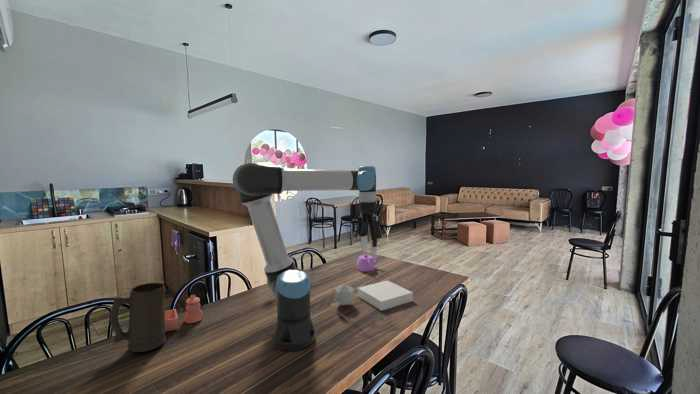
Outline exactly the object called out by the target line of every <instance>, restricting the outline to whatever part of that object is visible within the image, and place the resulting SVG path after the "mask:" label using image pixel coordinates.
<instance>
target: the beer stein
mask: <svg viewBox="0 0 700 394" xmlns="http://www.w3.org/2000/svg"><path fill="white" fill-rule="evenodd" d="M165 294H166V286H165V284H164V283H162V282H149V283H143V284H138V285H137V286H134V287H132V288H131V290H130V293H129V297H121V296H116V297H114V298H113V304H112V307H111V309H110V311H109V316H108V318H109V319H108V320H109V323H110V325H111V328H112V329H113V331H114V333H115V336H114V338H113V342H114V344H117V343H118V342H121V341H127V342H128V343H127V350H128V351H130V352H134V353H139V352H140V353H141V352H147V351H151V350H155V349H157V348H158V347H161V346H162V345H164V343H165V342H166V340H167V339H166V338H167V337H166V333H167V332H166V329H165V311H166V310H165V308H166V307H165ZM123 305H128V306H129V313H128V316H129V317H128V318H129V319H128V329H127V330H128V331H127V332H124V331H123V329H122V327H121V324H120V321H119V310H120V307H121V306H123Z"/></svg>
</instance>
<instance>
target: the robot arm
mask: <svg viewBox="0 0 700 394" xmlns="http://www.w3.org/2000/svg"><path fill="white" fill-rule="evenodd" d="M232 183H233V186H234V188H235V189H236V192H237V194H238V197H239V200H240V204H242V205H243V206H245V207H247V210H248V214H249V216H250V219H251V223H252V225H253V229H254V230H255V234H256V237H257V240H258V243H259V245H260V249H261V252H262V254H263V257H264V260H265V263H266V265H265V266H264V268H263V271H264V273H265V276H266V277H265V278H266V283H267V286H268V288H269V289H270V291H271V293H272V294H273V296H274V298H275V299H276V308H277V310H276V312H277V313H276V314H277V318H276V319H277V320H276V323H275V326H274V329H273V333H272V344H273V345H274V346H275V347H276V348H277V349H279V350H282V351H299V350H303V349H305V348H307V347H309V346H311V345H312V344H313V343H314V342H315V340H316V337H317V335H316V328H315V325H314V322H313V320H312V317H311V280H310V279H311V278H310V277H309V275H308V273H306V272H305V271H304V272H303V270H302V271H299V270H296V264H295V261H294V259H293V258H292V257H291V256H289V254H288V253H287V250H286V246H285V243H284V240H283V236H282V233H281V231H280V227H279V224H278V221H277V217H276V215H275V212H274V209H273V206H272V203H271V198H272V197H273V195H281V194H282V193H283V192H288V191H289V192H292V191H293V192H294V191H295V192H296V191H298V192H300V191H301V192H302V191H304V192H305V191H359V192H358V197H359V198H358V201H359V203H358V204H359V210H360V211H361V212H357V213H356V214H357V235H359V237H360V251H362V252H363V251H367V250H368V242H367V241H368V238H367V237H368V236H367V229H369V232H370V237H371V238H370V239H369V240H370V255H376V254H377V251H378V250H377V249H378V248H377V247H378V240H379V239H381V230H380V215H376V213H375V211H376V210H377V171H376V167H375V166H373V165H371V166H367V165H366V166H363V165H362V166H359V167H358V170H346V169H345V170H342V169H340V170H339V169H338V170H337V169H305V168H301V169H299V168H284V167H282V165H271V164H264V163H260V162H259V163H258V162H248V163H244V164H243V163H242V164H241V165H240V166H238V167H237V168H236V169H235V171H234V172H233V175H232ZM290 257H291V258H290Z"/></svg>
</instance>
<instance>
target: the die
mask: <svg viewBox="0 0 700 394" xmlns="http://www.w3.org/2000/svg"><path fill="white" fill-rule="evenodd" d="M334 302H336V303H339V304H340V305H342V306H346V305H348V304H351V303H353V302H355V288H354V287H353V286H350V285H348V284H346V283H343V284H341V285H338V286H337V287H335V288H334Z"/></svg>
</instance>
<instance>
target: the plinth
mask: <svg viewBox="0 0 700 394" xmlns="http://www.w3.org/2000/svg"><path fill="white" fill-rule="evenodd" d="M357 297H359V298H360V299H361V300H363V301H365V302H367V303H368V304H370V305H371V306H373V307H374V308H377V309H378V310H379V311H385V310H388V309H392V308H395V307H398V306H401V305H404V304H407V303H411V302H413V301H414V300H413V299H414V292H413V291H411V290H408V289H406V288H404V287H402V286H400V285H399V284H396V283H395V282H392V281H389V280H383V281H379V282H375V283H372V284H367V285H365V286H364V285H363V286H360V287H357Z"/></svg>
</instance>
